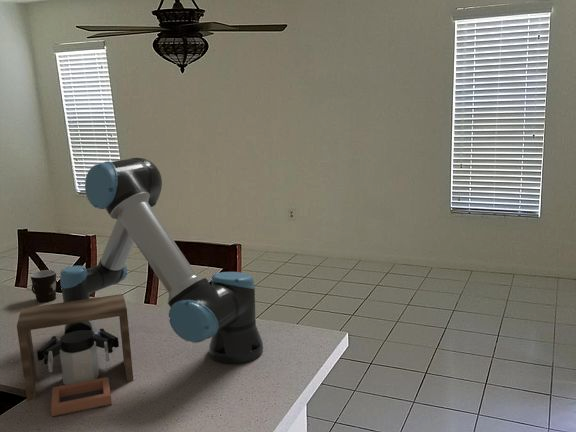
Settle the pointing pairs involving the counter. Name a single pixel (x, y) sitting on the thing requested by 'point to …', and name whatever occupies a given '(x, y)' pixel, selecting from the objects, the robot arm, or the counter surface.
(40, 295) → the coffee mug
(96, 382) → the tray
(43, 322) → the archway
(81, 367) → the jar
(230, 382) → the counter surface
